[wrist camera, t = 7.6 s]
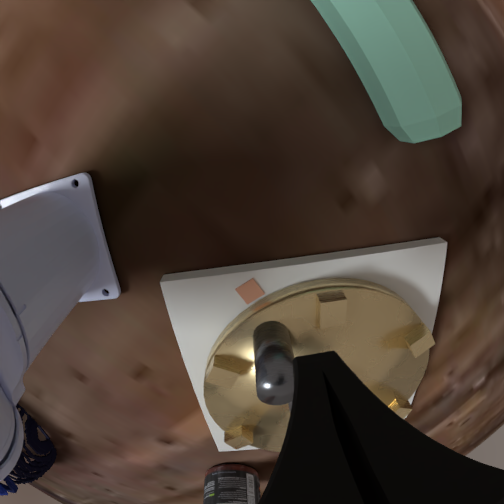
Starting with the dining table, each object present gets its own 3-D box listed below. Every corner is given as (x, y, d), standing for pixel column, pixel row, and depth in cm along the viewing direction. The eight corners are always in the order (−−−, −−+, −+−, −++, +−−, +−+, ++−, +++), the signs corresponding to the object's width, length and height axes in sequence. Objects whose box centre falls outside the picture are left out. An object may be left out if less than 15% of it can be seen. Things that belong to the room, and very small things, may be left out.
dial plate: (219, 443, 25) (218, 452, 24) (163, 274, 18) (159, 283, 17) (402, 410, 25) (406, 418, 24) (439, 237, 18) (448, 242, 17)
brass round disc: (371, 434, 24) (389, 481, 18) (199, 433, 22) (194, 490, 17) (452, 289, 18) (499, 335, 13) (217, 260, 17) (208, 323, 11)
